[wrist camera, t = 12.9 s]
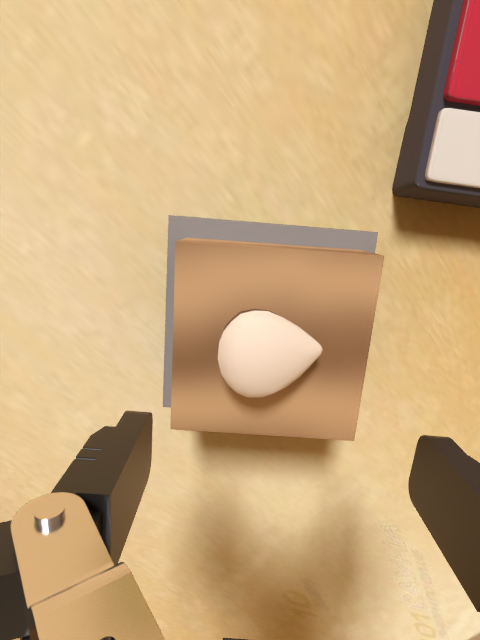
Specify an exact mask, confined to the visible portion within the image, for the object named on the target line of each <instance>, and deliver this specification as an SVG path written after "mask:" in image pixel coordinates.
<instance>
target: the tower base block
mask: <svg viewBox="0 0 480 640" xmlns="http://www.w3.org/2000/svg"><path fill="white" fill-rule="evenodd" d="M377 236H378V232H368V231H356V230H344V229H332V228H320V227H308V226H296V225H283V224H271V223H259V222H247V221H235V220H222V219H210V218H198V217H186V216H171V215H169V223H168V256H167V288H166V320H165V353H164V385H163V407H171V393H172V354H173V315H174V276H175V241H178V240H181V239H184V238H187V237H188V238H202V239H216V240H230V241H244V242H258V243H272V244H287V245H301V246H315V247H329V248H343V249H357V250H363V251H367V252H370V253H374V254H375V248H376V242H377Z"/></svg>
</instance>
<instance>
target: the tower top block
mask: <svg viewBox="0 0 480 640" xmlns="http://www.w3.org/2000/svg"><path fill="white" fill-rule="evenodd" d="M383 261H384V256H382V255H378V254H374V253H370V252H367V251H363V250H357V249H343V248H329V247H315V246H301V245H287V244H272V243H258V242H244V241H230V240H216V239H202V238H188V237H187V238H184V239H181V240H178V241H175V276H174V315H173V354H172V393H171V429H176V430H192V431H208V432H223V433H239V434H255V435H270V436H286V437H301V438H317V439H333V440H348V441H354V438H355V432H356V426H357V420H358V414H359V407H360V401H361V395H362V389H363V383H364V377H365V371H366V365H367V359H368V353H369V346H370V340H371V334H372V328H373V322H374V316H375V310H376V304H377V298H378V291H379V285H380V279H381V273H382V267H383ZM251 309H260V310H269V311H271V312H273V313H275V314H277V315H280V316H282V317H284V318H285V319H287V320H289V321H290V322H292V323H294V324H295V325H297V326H298V327H300V328H301V329H302V330H304V331H305V332H306V333H308V334H309V335H310V336H311V337H312V338H314V339H315V340H316V341H317V342H318V343H319V344H320V345H321V347H322V349H323V351H322V353H321V355H320V356H319V357H318V358H317V359H316V360H315V361H314V363H313V364H312V365H311V366H310V367H309V368H308V369H307V370H306V371H305V372H304V373H303V374H302V375H301V376H300V377H299V378H298V379H296V380H295V381H294V382H292V383H291V384H290V385H288V386H287V387H285V388H283V389H281V390H279V391H277V392H275V393H273V394H271V395H267V396H265V397H253V398H248V397H245V396H243V395H240V394H238V393H236V392H235V391H234V390H233V389H232V388H231V387H230V386H229V385H228V384H227V383H226V381H225V379H224V378H223V376H222V374H221V371H220V367H219V363H218V349H219V340H220V337H221V334H222V331H223V329H224V327H225V326H226V324H227V323H228V322H229V321H230V319H231V318H233V317H234V316H235V315H236V314H238V313H239V312H241V311H246V310H251Z"/></svg>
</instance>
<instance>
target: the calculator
mask: <svg viewBox="0 0 480 640" xmlns="http://www.w3.org/2000/svg"><path fill="white" fill-rule="evenodd" d="M392 190H393V193H394V194H395V195H396V196H401V197H407V198H415V199H422V200H429V201H436V202H443V203H450V204H457V205H464V206H472V207H479V208H480V0H434V2H433V7H432V11H431V16H430V20H429V25H428V30H427V35H426V40H425V45H424V50H423V55H422V59H421V64H420V69H419V74H418V79H417V84H416V89H415V94H414V99H413V103H412V108H411V113H410V117H409V119H408V122H407V125H406V128H405V133H404V137H403V142H402V146H401V151H400V155H399V160H398V164H397V169H396V173H395V178H394V182H393V188H392Z"/></svg>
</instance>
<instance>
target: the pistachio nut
mask: <svg viewBox="0 0 480 640" xmlns="http://www.w3.org/2000/svg"><path fill="white" fill-rule="evenodd" d="M322 351H323V349H322V347H321V345H320V344H319V343H318V342H317V341H316V340H315V339H314V338H312V337H311V336H310V335H309V334H308V333H306V332H305V331H304V330H302V329H301V328H300V327H298V326H297V325H295V324H294V323H292V322H290V321H289V320H287V319H285V318H284V317H282V316H280V315H277V314H275V313H273V312H271V311H269V310H260V309H251V310H246V311H241V312H239V313H238V314H236V315H235V316H234V317H233V318H231V319H230V321H229V322H228V323H227V324H226V326H225V327H224V329H223V331H222V334H221V337H220V340H219V349H218V363H219V367H220V371H221V374H222V376H223V378H224V379H225V381H226V383H227V384H228V385H229V386H230V387H231V388H232V389H233V390H234V391H235V392H236V393H238V394H240V395H243V396H245V397H248V398H253V397H265V396H267V395H271V394H273V393H275V392H277V391H279V390H281V389H283V388H285V387H287V386H288V385H290V384H291V383H292V382H294V381H295V380H296V379H298V378H299V377H300V376H301V375H302V374H303V373H304V372H305V371H306V370H307V369H308V368H309V367H310V366H311V365H312V364H313V363H314V361H315V360H316V359H317V358H318V357H319V356H320V355H321V353H322Z"/></svg>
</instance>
